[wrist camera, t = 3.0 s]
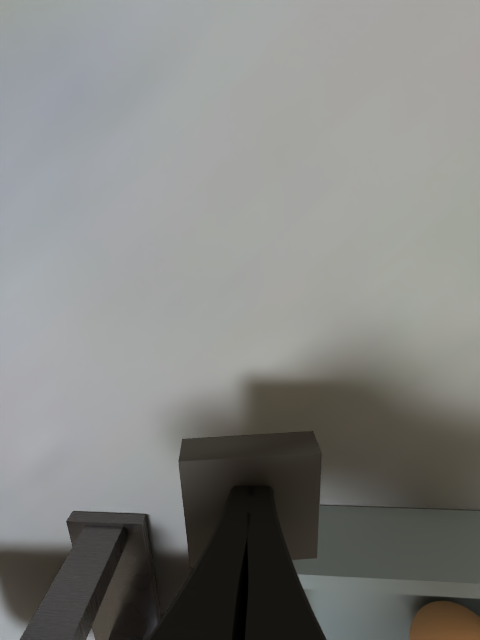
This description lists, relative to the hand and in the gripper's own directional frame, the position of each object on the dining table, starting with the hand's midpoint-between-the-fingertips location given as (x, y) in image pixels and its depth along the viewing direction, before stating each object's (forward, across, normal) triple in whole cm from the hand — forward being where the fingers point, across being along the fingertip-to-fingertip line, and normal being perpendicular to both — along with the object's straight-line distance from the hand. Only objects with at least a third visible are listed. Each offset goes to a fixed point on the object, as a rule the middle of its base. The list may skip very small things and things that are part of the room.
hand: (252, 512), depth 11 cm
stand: (+6, +8, +12) cm, 15 cm away
